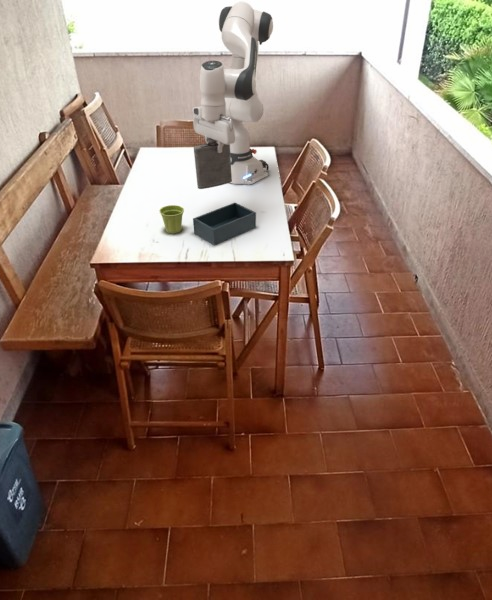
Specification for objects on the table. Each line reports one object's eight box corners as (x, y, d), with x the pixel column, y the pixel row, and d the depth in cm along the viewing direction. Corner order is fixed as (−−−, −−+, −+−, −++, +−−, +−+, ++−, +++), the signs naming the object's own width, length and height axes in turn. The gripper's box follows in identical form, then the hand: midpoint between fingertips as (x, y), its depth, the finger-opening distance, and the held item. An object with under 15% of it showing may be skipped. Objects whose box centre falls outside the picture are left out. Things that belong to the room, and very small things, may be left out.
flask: (233, 182, 190) (231, 136, 179) (200, 190, 185) (195, 143, 174) (229, 179, 193) (227, 133, 182) (196, 186, 188) (191, 140, 177)
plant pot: (164, 224, 197) (161, 204, 192) (187, 224, 197) (185, 205, 191) (159, 235, 189) (157, 215, 184) (183, 236, 189) (181, 215, 184)
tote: (235, 216, 203) (235, 202, 199) (255, 227, 195) (256, 212, 192) (193, 233, 191) (192, 218, 187) (214, 245, 183) (213, 229, 180)
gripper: (239, 116, 169) (239, 155, 177) (203, 104, 181) (204, 142, 189) (225, 120, 165) (226, 159, 173) (189, 107, 177) (191, 145, 185)
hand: (214, 150), depth 181 cm, fingers closed on flask, 4 cm apart
